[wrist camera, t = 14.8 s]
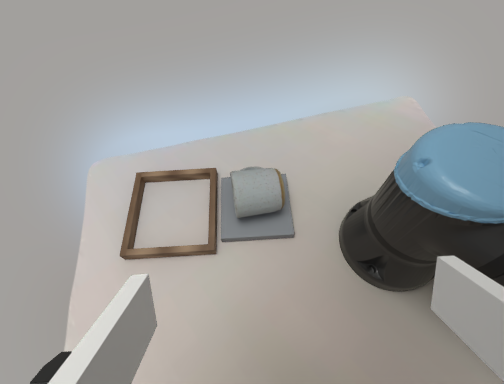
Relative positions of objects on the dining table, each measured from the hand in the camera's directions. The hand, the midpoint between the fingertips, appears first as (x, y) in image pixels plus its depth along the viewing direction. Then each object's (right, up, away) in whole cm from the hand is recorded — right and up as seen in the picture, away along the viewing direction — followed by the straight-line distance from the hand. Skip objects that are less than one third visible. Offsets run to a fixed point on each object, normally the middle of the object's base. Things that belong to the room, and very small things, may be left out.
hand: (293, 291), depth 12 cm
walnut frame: (-16, +1, +36) cm, 39 cm away
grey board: (-1, +2, +36) cm, 36 cm away
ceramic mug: (-2, +4, +35) cm, 35 cm away
